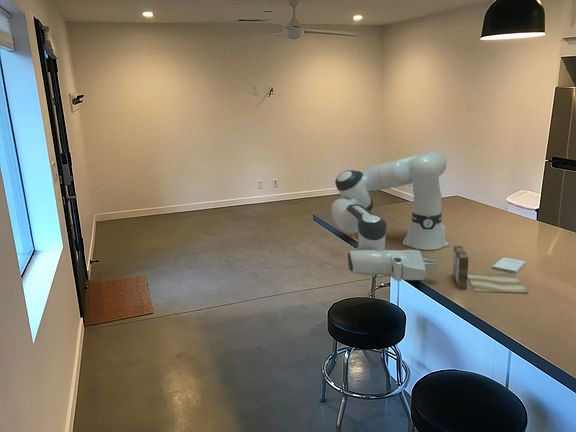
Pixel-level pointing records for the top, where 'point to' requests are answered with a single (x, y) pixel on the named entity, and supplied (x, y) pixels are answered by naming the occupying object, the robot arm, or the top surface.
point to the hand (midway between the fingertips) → (437, 264)
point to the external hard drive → (509, 265)
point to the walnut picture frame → (460, 267)
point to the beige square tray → (496, 283)
